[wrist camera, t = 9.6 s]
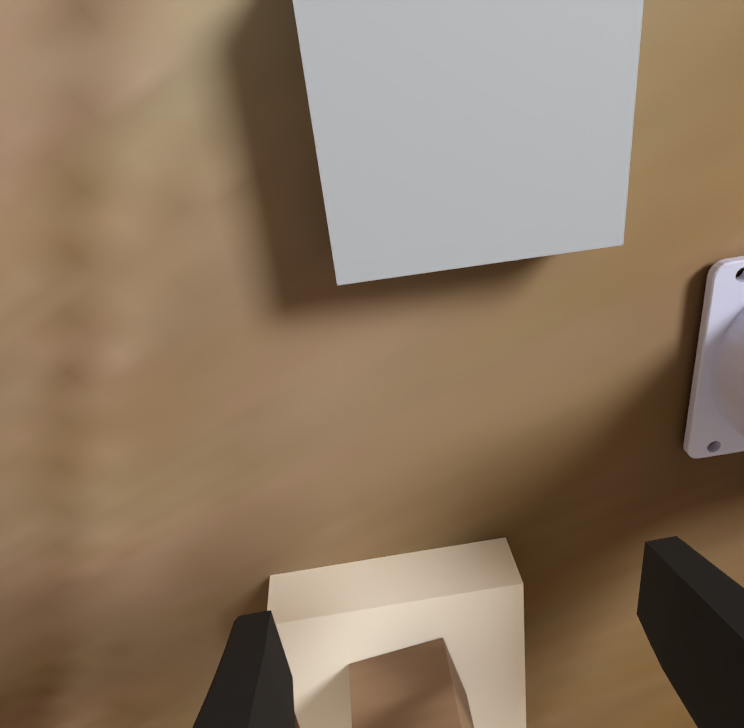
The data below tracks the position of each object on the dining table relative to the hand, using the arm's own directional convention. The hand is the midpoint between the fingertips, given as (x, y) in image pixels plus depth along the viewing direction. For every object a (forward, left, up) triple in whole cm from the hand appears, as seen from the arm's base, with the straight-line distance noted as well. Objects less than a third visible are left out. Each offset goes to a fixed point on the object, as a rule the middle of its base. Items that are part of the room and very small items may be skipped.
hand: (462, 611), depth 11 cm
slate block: (-3, -8, -11) cm, 14 cm away
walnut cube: (+1, +14, -8) cm, 16 cm away
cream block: (+1, +14, -11) cm, 18 cm away
